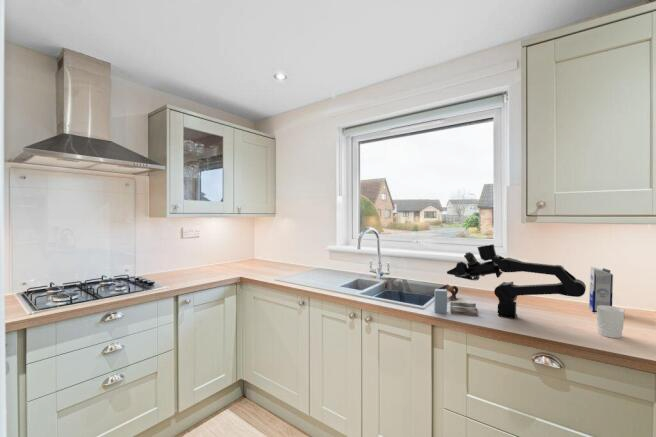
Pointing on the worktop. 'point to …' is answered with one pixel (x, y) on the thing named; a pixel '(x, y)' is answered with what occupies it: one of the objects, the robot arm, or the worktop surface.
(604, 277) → the milk carton
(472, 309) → the bottom track
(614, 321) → the white cup
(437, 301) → the grey rectangular block
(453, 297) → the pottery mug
